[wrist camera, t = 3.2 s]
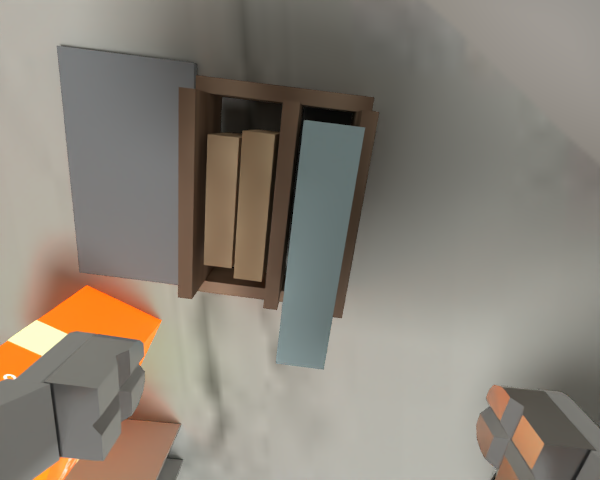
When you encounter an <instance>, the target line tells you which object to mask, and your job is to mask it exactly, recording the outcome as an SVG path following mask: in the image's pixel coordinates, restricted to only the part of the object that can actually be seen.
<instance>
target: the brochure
mask: <svg viewBox="0 0 600 480" xmlns="http://www.w3.org/2000/svg"><path fill="white" fill-rule="evenodd" d="M180 427H181V424H176V423H165V422H153V421H142V420H131V419H125V420H123V421H122V422H121V434H120V436H119V437H118V439H117V440H116V442H115V444H114V445H113V447H112V448H111V450H110V452H109V453H108V455H107V456H106V458H105V460H104V461H95V460H84V459H79V460H78V461H77V463H75V465H74V466H73V468H72V469H71V470H70V472H69V473H68V475H67V476H66V477H65V479H64V480H176V479H177V476H178V474H179V471H180V469H181V466H182V464H183V460H179V459H168V458H167V456H168V454H169V452H170V449H171V447H172V445H173V443H174V440H175V438H176V436H177V434H178V431H179V429H180Z"/></svg>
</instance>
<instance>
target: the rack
mask: <svg viewBox="0 0 600 480" xmlns="http://www.w3.org/2000/svg"><path fill="white" fill-rule="evenodd" d="M222 97H229V98H237V99H245V100H253V101H261V102H269V103H277V104H283V106H282V116H281V127H280V137H279V148H278V158H277V169H276V179H275V190H274V200H273V211H272V222H271V232H270V243H269V253H268V264H267V273H265V274H264V277H263V280H262V282H259V281H251V280H243V279H236V278H234V269H233V268H225V267H217V266H209V265H204V239H205V205H206V170H207V136H208V134H213V133H221V110H222ZM373 103H374V97H367V96H359V95H351V94H343V93H335V92H327V91H319V90H311V89H303V88H295V87H287V86H279V85H271V84H263V83H255V82H247V81H239V80H231V79H223V78H215V77H207V76H199V75H196V89H191V88H183V87H179V104H178V297H180V298H188V299H192V298H193V297H194V295H195V294H196V292H197V291H201V292H209V293H216V294H224V295H232V296H240V297H248V298H256V299H263V300H264V306H263V308H266V309H274V310H277V308H278V303H279V302H283V297H284V288H285V279H286V275H285V266H286V257H287V248H288V239H289V231H290V222H291V213H292V204H293V195H294V187H295V178H296V169H297V160H298V151H299V143H300V134H301V125H302V116H303V107H309V108H317V109H325V110H333V111H341V112H349V113H352V118H351V124H350V126H357V127H365V132H364V137H363V143H362V149H361V155H360V161H359V167H358V172H357V178H356V184H355V190H354V196H353V201H352V207H351V213H350V219H349V225H348V231H347V236H346V242H345V248H344V254H343V260H342V265H341V271H340V277H339V283H338V289H337V295H336V300H335V306H334V312H333V317H336V318H342V314H343V309H344V303H345V298H346V292H347V287H348V281H349V276H350V271H351V265H352V260H353V254H354V249H355V243H356V238H357V232H358V227H359V221H360V216H361V210H362V205H363V199H364V194H365V188H366V183H367V177H368V172H369V166H370V161H371V155H372V150H373V144H374V139H375V133H376V128H377V122H378V117H379V112H375V111H372V108H373Z"/></svg>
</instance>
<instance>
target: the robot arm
mask: <svg viewBox="0 0 600 480" xmlns="http://www.w3.org/2000/svg"><path fill="white" fill-rule="evenodd" d="M143 357H144V343H143V342H142V341H141V340H137V339H130V338H123V337H116V336H110V335H103V334H95V333H88V332H80V331H74V332H70V333H68V334H67V335H66V336H65V337H64V338H63V339H61V340H60V341H59V342H58V343H57V344H56V345H54V346H53V347H52V348H51V349H50V350H48V351H47V352H46V353H45V354H44V355H43V356H41V357H40V358H39V359H38V360H37V361H36V362H34V363H33V364H32V365H31V366H30V367H29V368H27V369H26V370H25V371H24V372H23V373H22V374H20V375H19V376H18V377H17V378H16V379H4V380H2V381H0V480H33V479H34V478H36V477H37V476H39V475H40V474H41V473H43V472H44V471H45V470H47V469H48V468H50V467H51V466H52V465H54V464H55V463H56V462H58V461H59V460H60V457H61V458H72V459H84V460H95V461H104V460H105V458H106V456H107V455H108V453H109V452H110V450H111V448H112V447H113V445H114V444H115V442H116V440H117V439H118V437H119V436H120V434H121V422H122V421H123V420H125V419H127V418H128V417H130V416H132V414H133V413H134V411H135V409H136V408H137V406H138V404H139V401H140V399H141V396H142V393H143V389H144V383H145V371H144V370H143V369H142V367H141V366H140V365H139V363H140V361H141V360H142V358H143ZM486 400H487V402H488V405H489V407H488V408H487V409H485V410H484V411H483V412H481V413H480V415H479V418H478V421H477V424H476V431H477V440H478V444H479V447H480V450H481V452H482V454H483V456H484V458H485V459H486V460H487V461H488V462H489V463H491V464H492V465H493V466H494V467H495V468H496V469H497V472H496V477H495V480H600V428H599V427H598V426H597V425H596V424H595V423H594V422H593V421H592V420H591V419H590V418H589V417H588V416H587V415H586V414H585V413H584V412H583V411H582V410H581V409H580V408H579V407H578V406H577V404H576V403H575V402H574V401H573V400H572V399H571V398H570V397H569V396H567V395H566V394H564V393H562V392H559V391H549V390H539V389H538V390H533V389H525V388H516V387H508V386H500V385H494V386H493V387H491V388H490V389H489V391H488V394H487V396H486Z"/></svg>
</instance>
